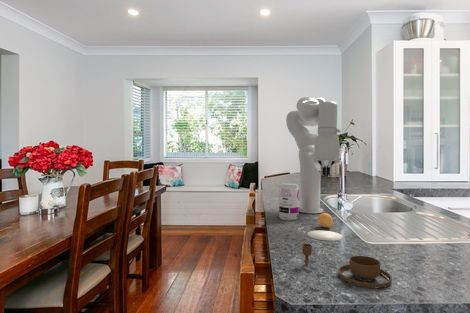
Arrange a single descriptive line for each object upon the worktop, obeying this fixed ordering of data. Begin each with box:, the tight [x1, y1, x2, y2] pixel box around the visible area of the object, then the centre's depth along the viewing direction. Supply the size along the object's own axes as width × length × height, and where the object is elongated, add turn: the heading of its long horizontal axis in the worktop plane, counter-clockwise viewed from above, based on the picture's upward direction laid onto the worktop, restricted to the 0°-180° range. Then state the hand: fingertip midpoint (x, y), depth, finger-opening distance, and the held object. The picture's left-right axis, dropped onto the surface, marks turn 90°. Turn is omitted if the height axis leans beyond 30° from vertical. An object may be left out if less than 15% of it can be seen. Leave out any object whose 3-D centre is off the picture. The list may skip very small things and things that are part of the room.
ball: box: [317, 212, 333, 228], centre depth 124 cm, size 6×6×6 cm
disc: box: [307, 229, 344, 242], centre depth 112 cm, size 12×12×1 cm
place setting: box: [301, 243, 393, 289], centre depth 80 cm, size 18×20×6 cm
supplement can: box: [278, 182, 300, 222], centre depth 137 cm, size 8×8×15 cm
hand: (326, 176), depth 132 cm, fingers closed
